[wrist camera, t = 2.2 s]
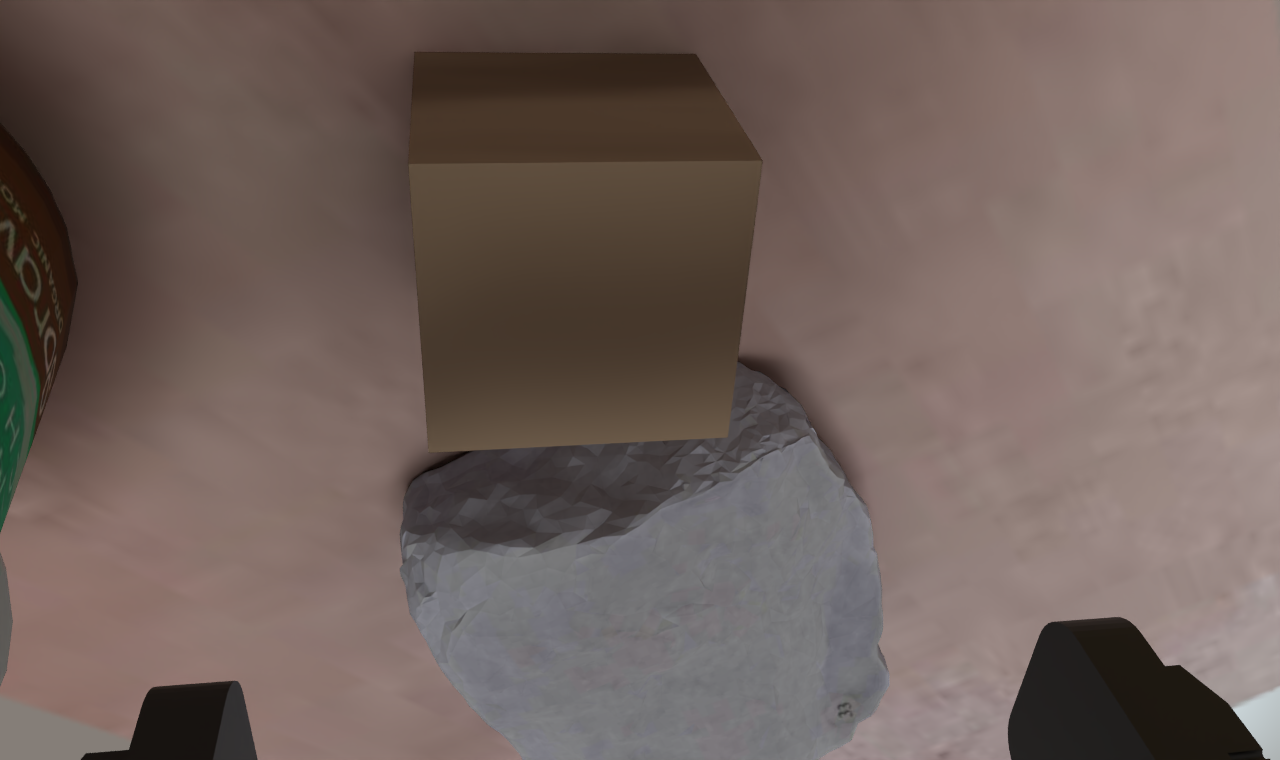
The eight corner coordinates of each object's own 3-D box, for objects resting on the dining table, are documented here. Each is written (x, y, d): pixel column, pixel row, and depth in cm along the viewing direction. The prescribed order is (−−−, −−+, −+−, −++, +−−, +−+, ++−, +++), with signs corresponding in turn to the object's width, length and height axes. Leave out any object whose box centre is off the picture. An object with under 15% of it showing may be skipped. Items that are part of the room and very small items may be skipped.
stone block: (745, 277, 25) (349, 483, 24) (849, 383, 21) (383, 634, 20) (850, 592, 32) (550, 759, 31) (942, 714, 28) (603, 908, 27)
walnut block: (414, 50, 19) (407, 164, 15) (694, 52, 19) (762, 160, 15) (430, 299, 22) (428, 452, 17) (675, 292, 22) (727, 437, 18)
